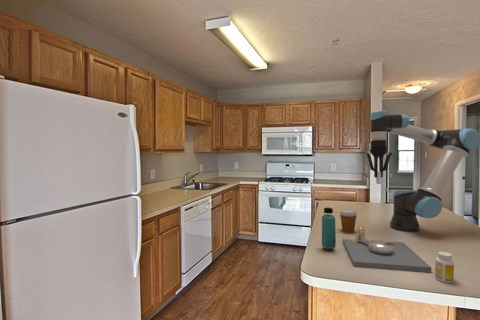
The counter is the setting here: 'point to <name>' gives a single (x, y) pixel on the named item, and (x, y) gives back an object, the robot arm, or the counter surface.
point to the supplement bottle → (444, 267)
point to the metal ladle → (375, 243)
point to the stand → (385, 257)
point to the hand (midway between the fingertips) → (378, 183)
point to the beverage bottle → (328, 229)
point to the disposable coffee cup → (348, 220)
